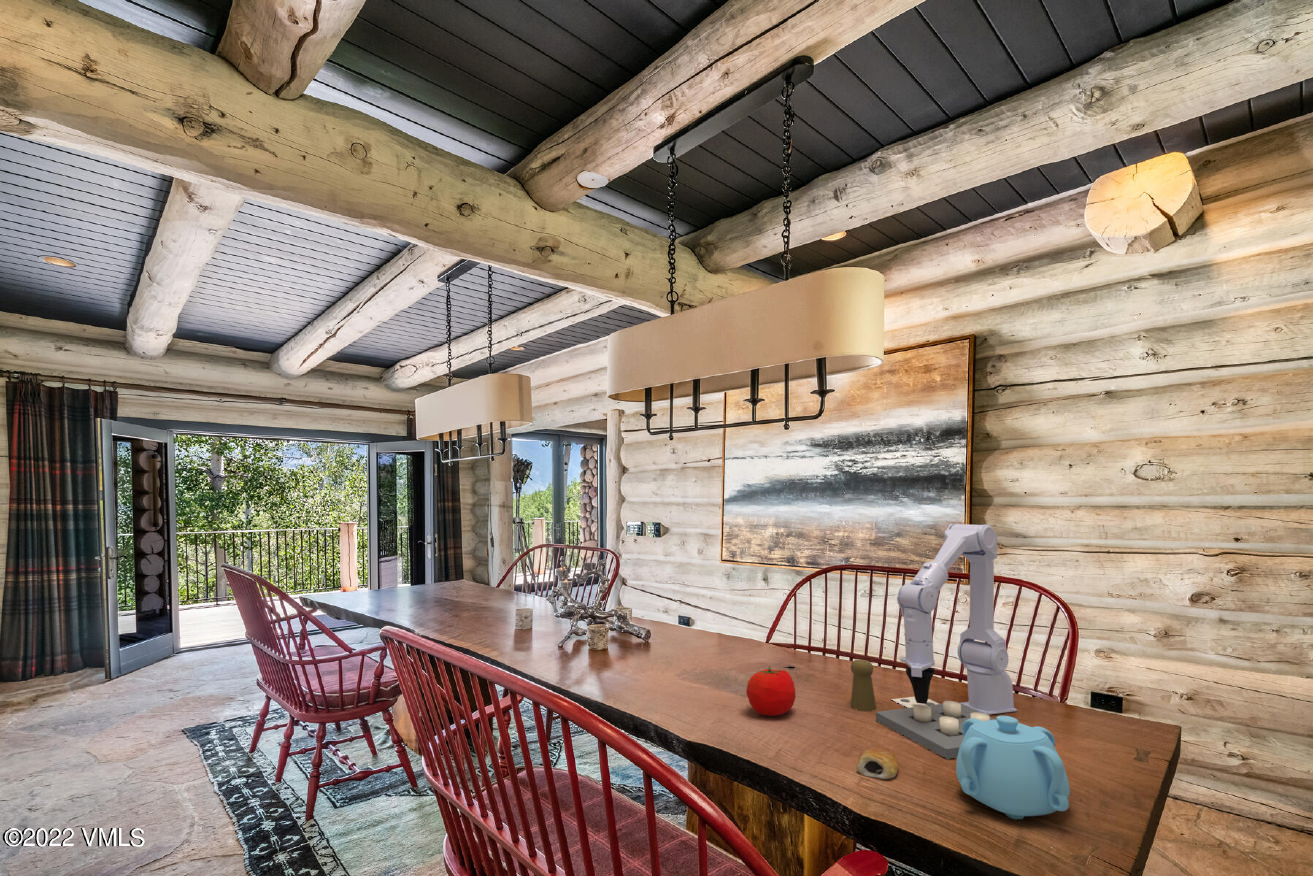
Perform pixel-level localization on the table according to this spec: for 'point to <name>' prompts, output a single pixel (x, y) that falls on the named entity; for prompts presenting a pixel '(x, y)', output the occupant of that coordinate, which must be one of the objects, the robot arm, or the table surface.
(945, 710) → the button
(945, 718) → the button
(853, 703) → the olive pawn figure
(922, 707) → the button
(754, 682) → the tomato
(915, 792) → the table surface
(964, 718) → the board
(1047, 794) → the decorative pot
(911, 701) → the card
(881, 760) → the pastry
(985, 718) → the button
